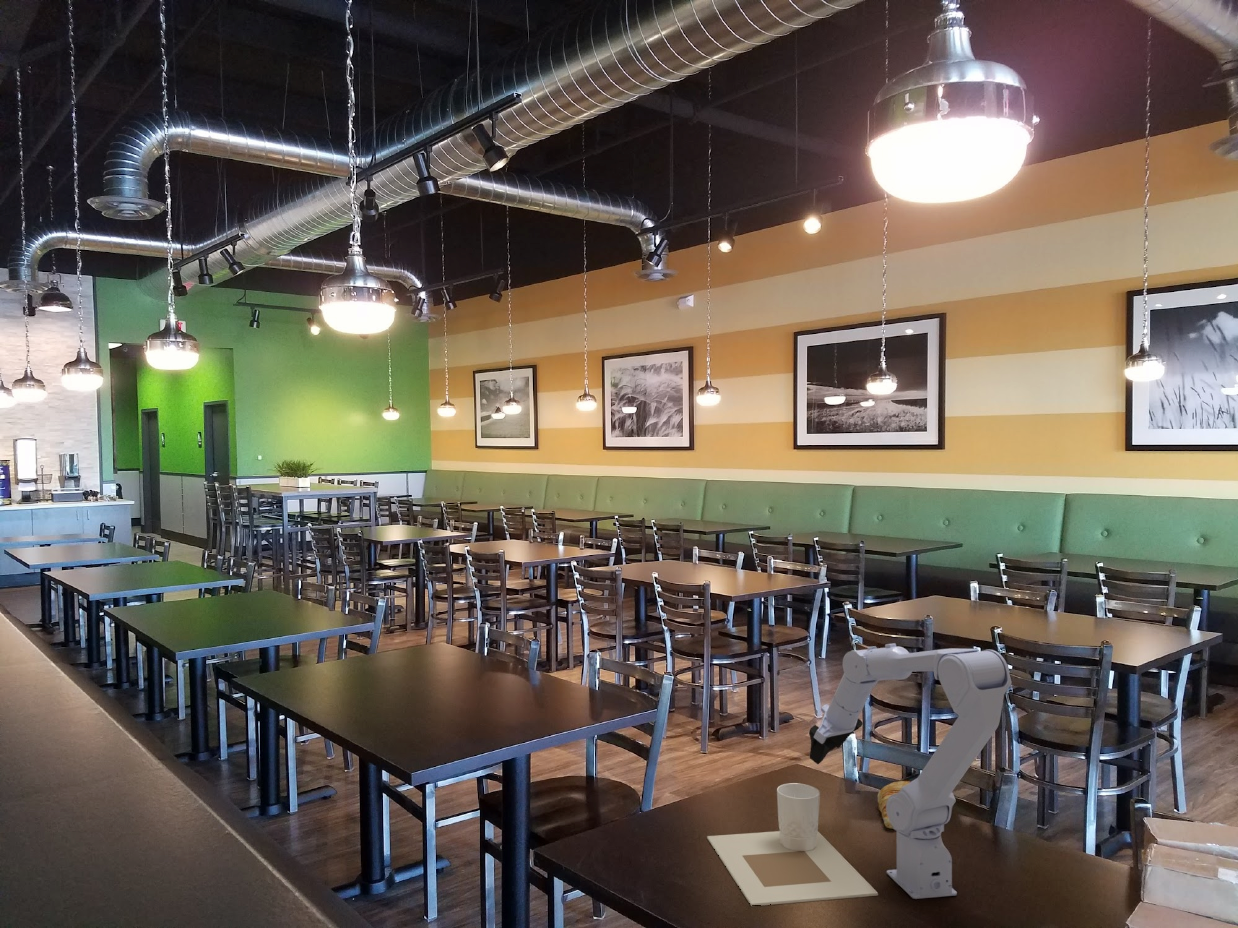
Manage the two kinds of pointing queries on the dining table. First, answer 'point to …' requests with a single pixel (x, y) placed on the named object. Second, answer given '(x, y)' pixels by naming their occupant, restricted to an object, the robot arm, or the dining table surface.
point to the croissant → (884, 796)
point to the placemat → (787, 870)
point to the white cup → (798, 816)
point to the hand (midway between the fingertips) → (824, 752)
